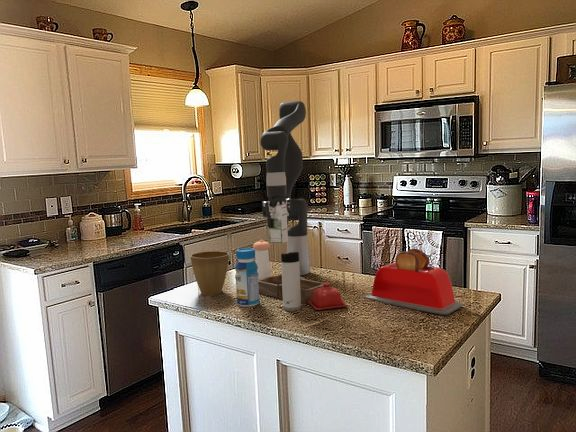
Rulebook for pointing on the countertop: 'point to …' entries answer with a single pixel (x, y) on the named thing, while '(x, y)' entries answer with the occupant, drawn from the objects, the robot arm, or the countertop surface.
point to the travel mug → (291, 281)
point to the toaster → (414, 285)
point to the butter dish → (326, 298)
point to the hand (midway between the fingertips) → (278, 226)
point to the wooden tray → (274, 287)
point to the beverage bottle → (246, 278)
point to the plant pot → (210, 271)
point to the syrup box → (279, 225)
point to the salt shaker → (262, 259)
